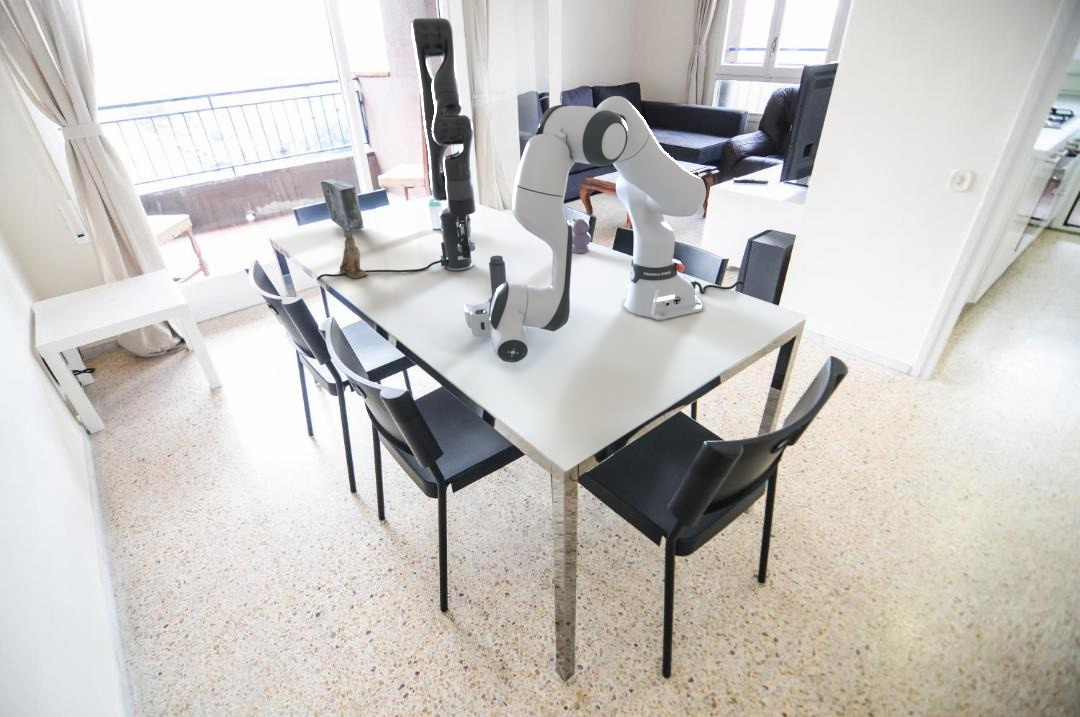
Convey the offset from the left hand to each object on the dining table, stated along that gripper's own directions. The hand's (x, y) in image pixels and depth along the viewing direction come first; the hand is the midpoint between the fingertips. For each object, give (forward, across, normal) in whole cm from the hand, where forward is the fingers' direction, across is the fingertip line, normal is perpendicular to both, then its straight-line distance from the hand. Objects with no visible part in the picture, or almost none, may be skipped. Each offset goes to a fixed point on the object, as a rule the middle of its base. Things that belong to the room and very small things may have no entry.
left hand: (467, 254), depth 146 cm
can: (+15, -82, -18) cm, 85 cm away
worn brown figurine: (+15, -31, -44) cm, 56 cm away
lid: (-3, 0, 0) cm, 3 cm away
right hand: (+9, +14, +9) cm, 19 cm away
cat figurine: (+15, -41, +40) cm, 59 cm away
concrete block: (+15, -88, -59) cm, 107 cm away
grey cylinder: (+16, +15, +9) cm, 23 cm away
